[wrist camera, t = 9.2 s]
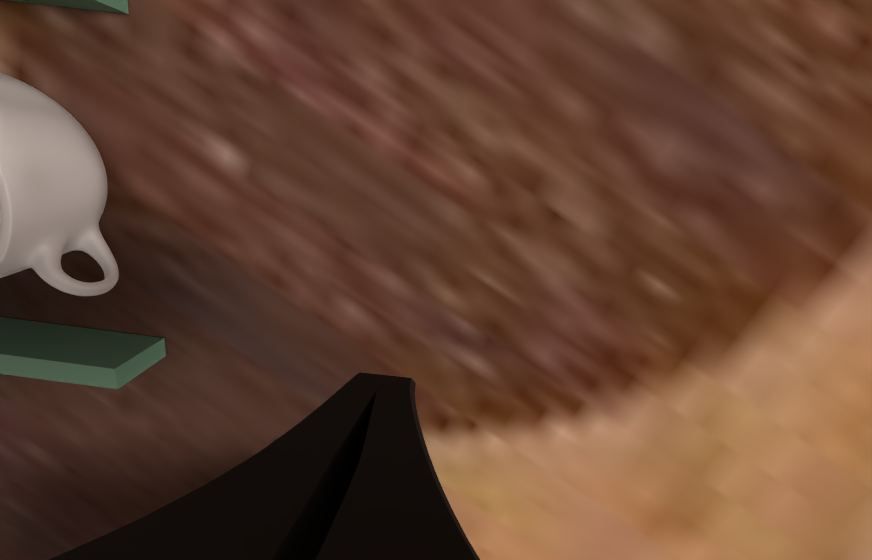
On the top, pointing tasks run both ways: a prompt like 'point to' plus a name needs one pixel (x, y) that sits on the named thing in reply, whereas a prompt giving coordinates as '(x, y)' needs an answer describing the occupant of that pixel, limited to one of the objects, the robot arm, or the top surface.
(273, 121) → the top surface
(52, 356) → the green tray
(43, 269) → the teacup
